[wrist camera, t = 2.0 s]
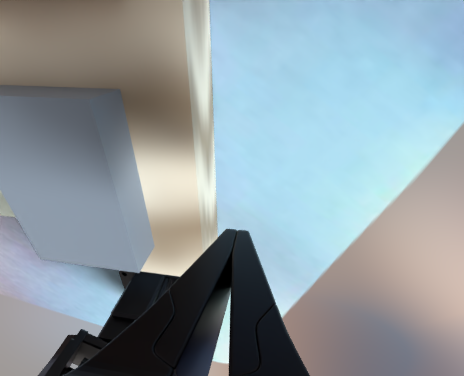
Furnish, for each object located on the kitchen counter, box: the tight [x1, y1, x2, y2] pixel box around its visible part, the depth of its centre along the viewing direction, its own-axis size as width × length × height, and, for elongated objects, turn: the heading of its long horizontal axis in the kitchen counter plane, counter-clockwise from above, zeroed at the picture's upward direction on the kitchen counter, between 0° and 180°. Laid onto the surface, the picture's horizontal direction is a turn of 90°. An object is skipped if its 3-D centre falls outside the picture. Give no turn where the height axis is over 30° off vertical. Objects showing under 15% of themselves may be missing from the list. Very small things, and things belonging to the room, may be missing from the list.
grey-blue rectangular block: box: [0, 85, 155, 273], centre depth 12 cm, size 9×6×2 cm, turn 0°
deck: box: [0, 0, 218, 277], centre depth 13 cm, size 20×12×4 cm, turn 0°
